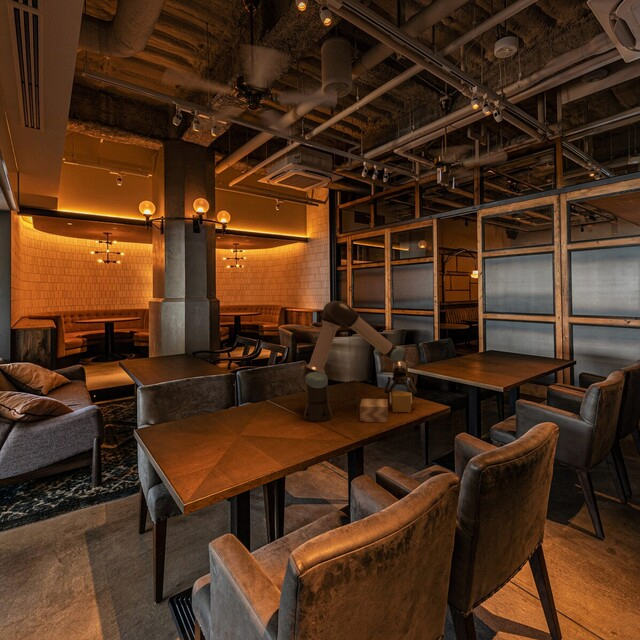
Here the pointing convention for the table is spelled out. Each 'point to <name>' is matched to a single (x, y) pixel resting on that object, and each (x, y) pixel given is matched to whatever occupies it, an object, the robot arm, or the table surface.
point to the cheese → (401, 401)
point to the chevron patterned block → (374, 410)
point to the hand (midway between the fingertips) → (400, 404)
